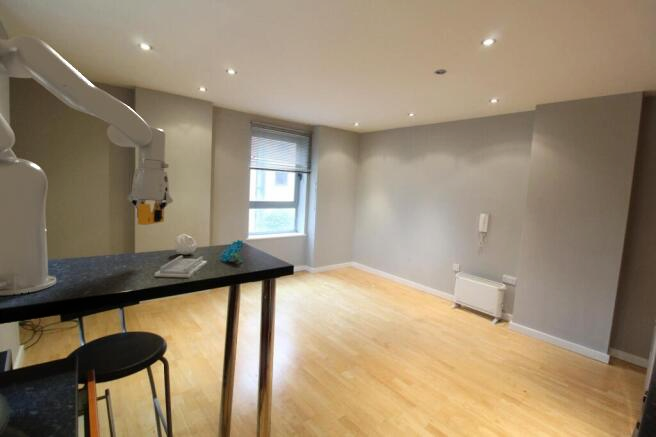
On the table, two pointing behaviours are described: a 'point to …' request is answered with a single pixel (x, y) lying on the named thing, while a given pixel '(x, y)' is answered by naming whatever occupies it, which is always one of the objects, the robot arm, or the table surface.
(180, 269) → the rail plate
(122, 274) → the table surface
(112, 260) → the table surface
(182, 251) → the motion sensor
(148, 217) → the pipe clamp
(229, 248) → the blue lumpy piece
